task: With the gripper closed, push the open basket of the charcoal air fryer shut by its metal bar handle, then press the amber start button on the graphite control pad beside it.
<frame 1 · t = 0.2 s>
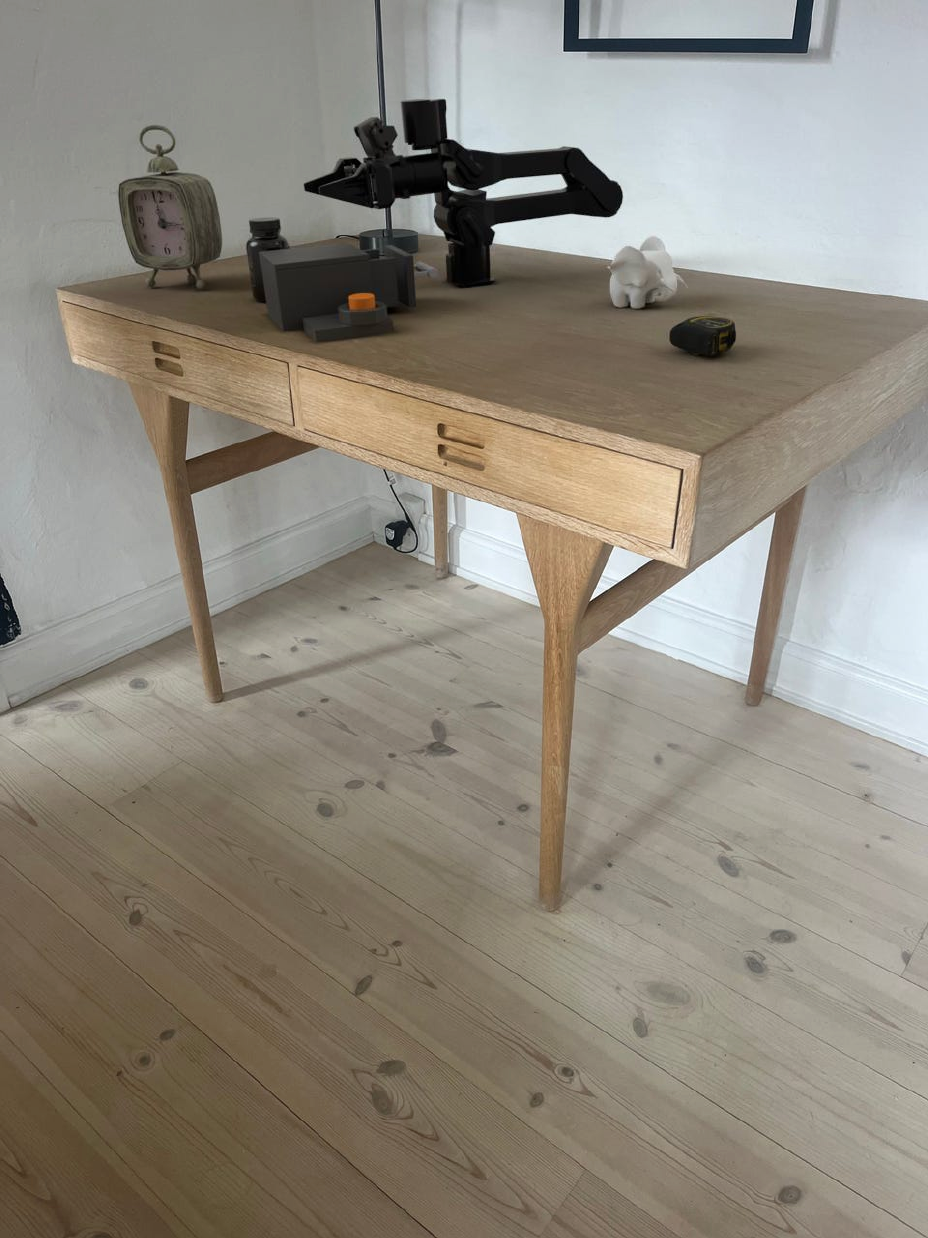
hand: (311, 188, 138), 16 cm above the table, tool horizontal, fingers open, 9 cm apart
basket: (377, 278, 137), point 5 cm above the table, slide at 5.5 cm
air fryer: (320, 317, 137), on the table
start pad: (348, 331, 129), on the table
supplement bottle: (275, 299, 150), on the table
tabletop clock: (186, 286, 161), on the table
start button: (361, 302, 126), point 4 cm above the table, slide at 0.1 cm
tape measure: (702, 355, 113), on the table
elephant figurine: (642, 306, 136), on the table
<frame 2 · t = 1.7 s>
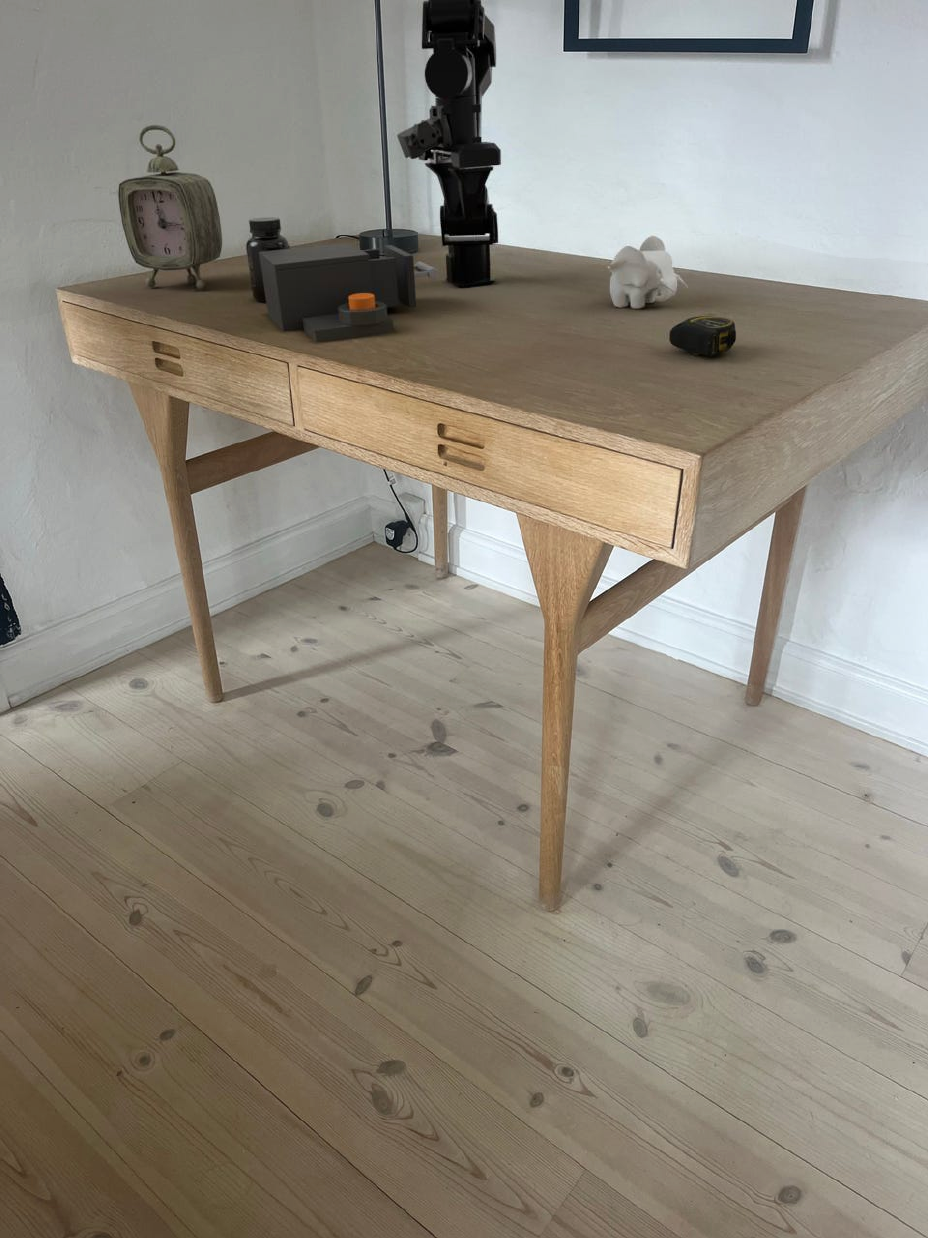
hand: (459, 216, 137), 12 cm above the table, tool pointing down, fingers open, 6 cm apart
nothing on the table moved.
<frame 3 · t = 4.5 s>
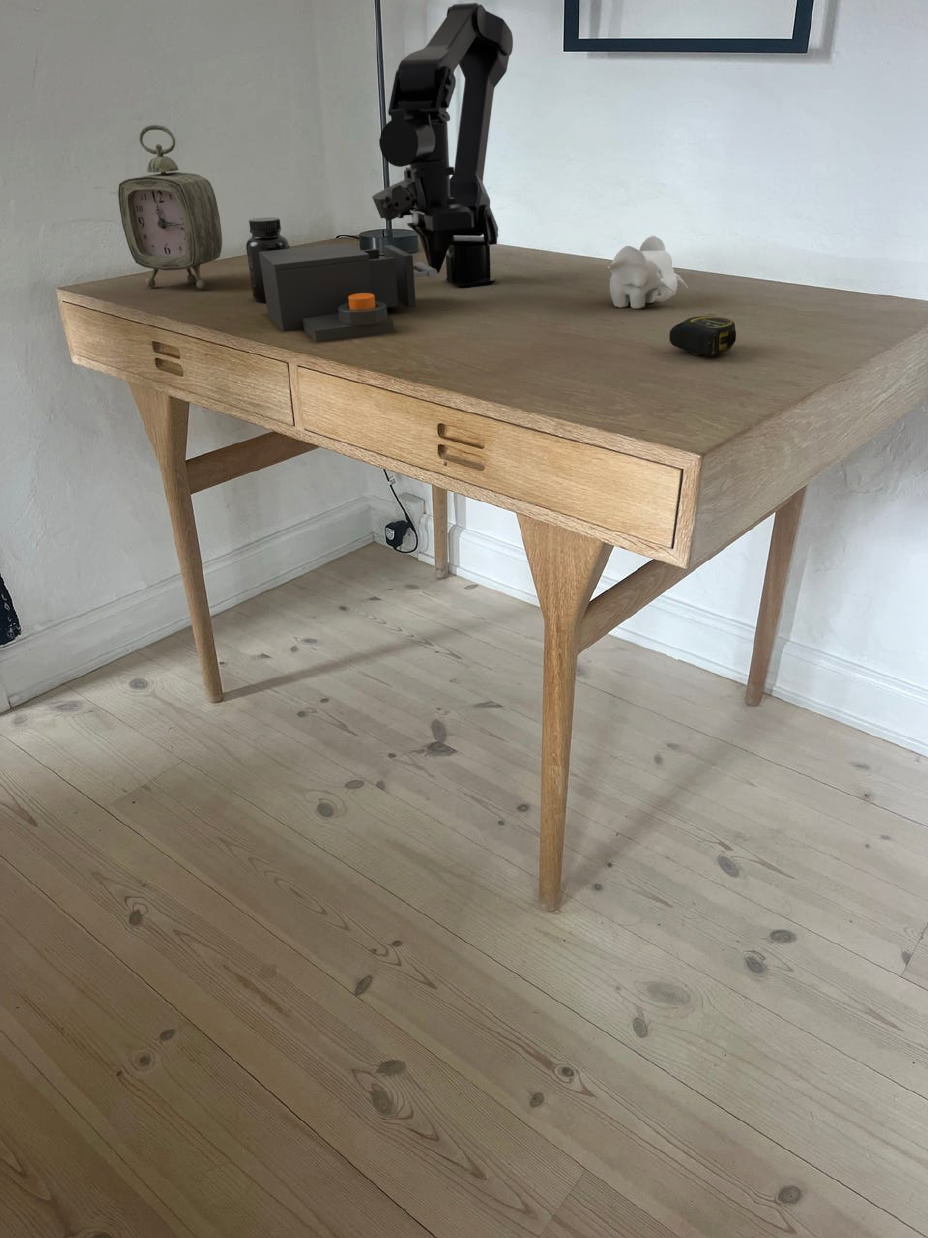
hand: (435, 273, 140), 4 cm above the table, tool pointing down, fingers closed, pressing on basket
basket: (377, 278, 137), point 5 cm above the table, slide at 5.4 cm, touching gripper
everything else where it was.
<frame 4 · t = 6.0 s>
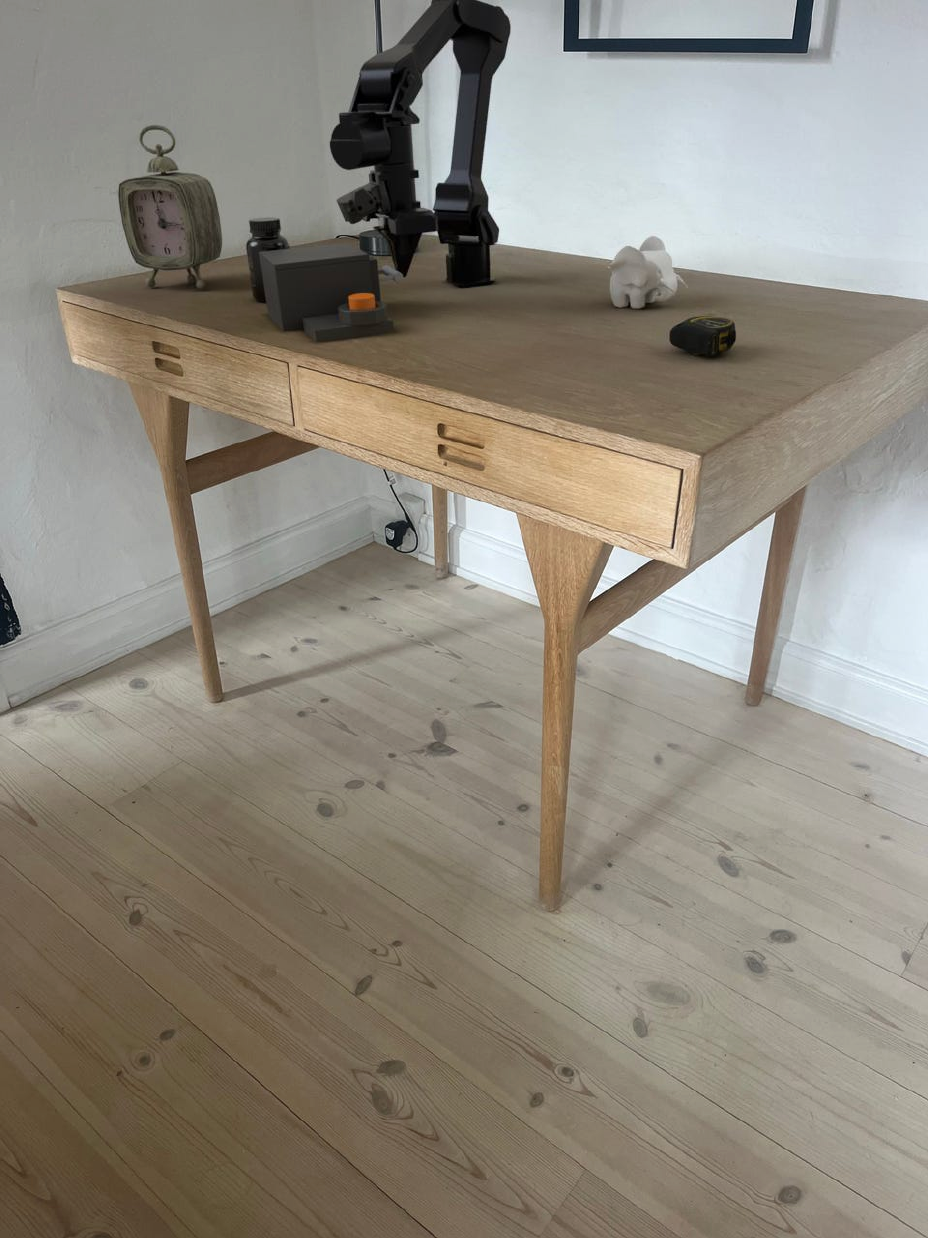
hand: (402, 277, 139), 4 cm above the table, tool pointing down, fingers closed, pressing on basket
basket: (343, 282, 136), point 5 cm above the table, slide at 0.1 cm, touching gripper
everything else where it was.
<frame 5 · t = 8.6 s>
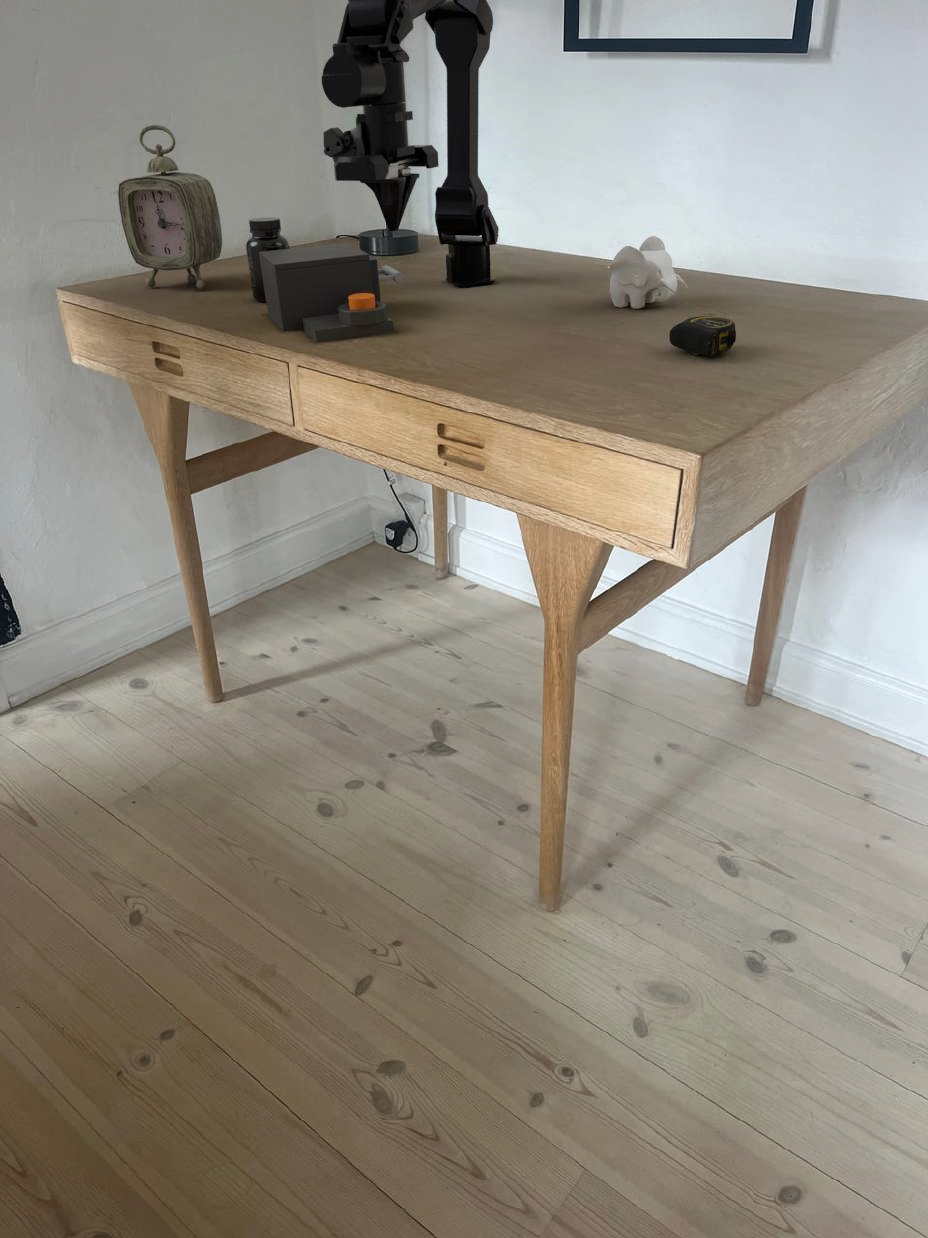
hand: (393, 230, 129), 12 cm above the table, tool pointing down, fingers closed
basket: (342, 282, 136), point 5 cm above the table, slide at 0.1 cm
everything else where it was.
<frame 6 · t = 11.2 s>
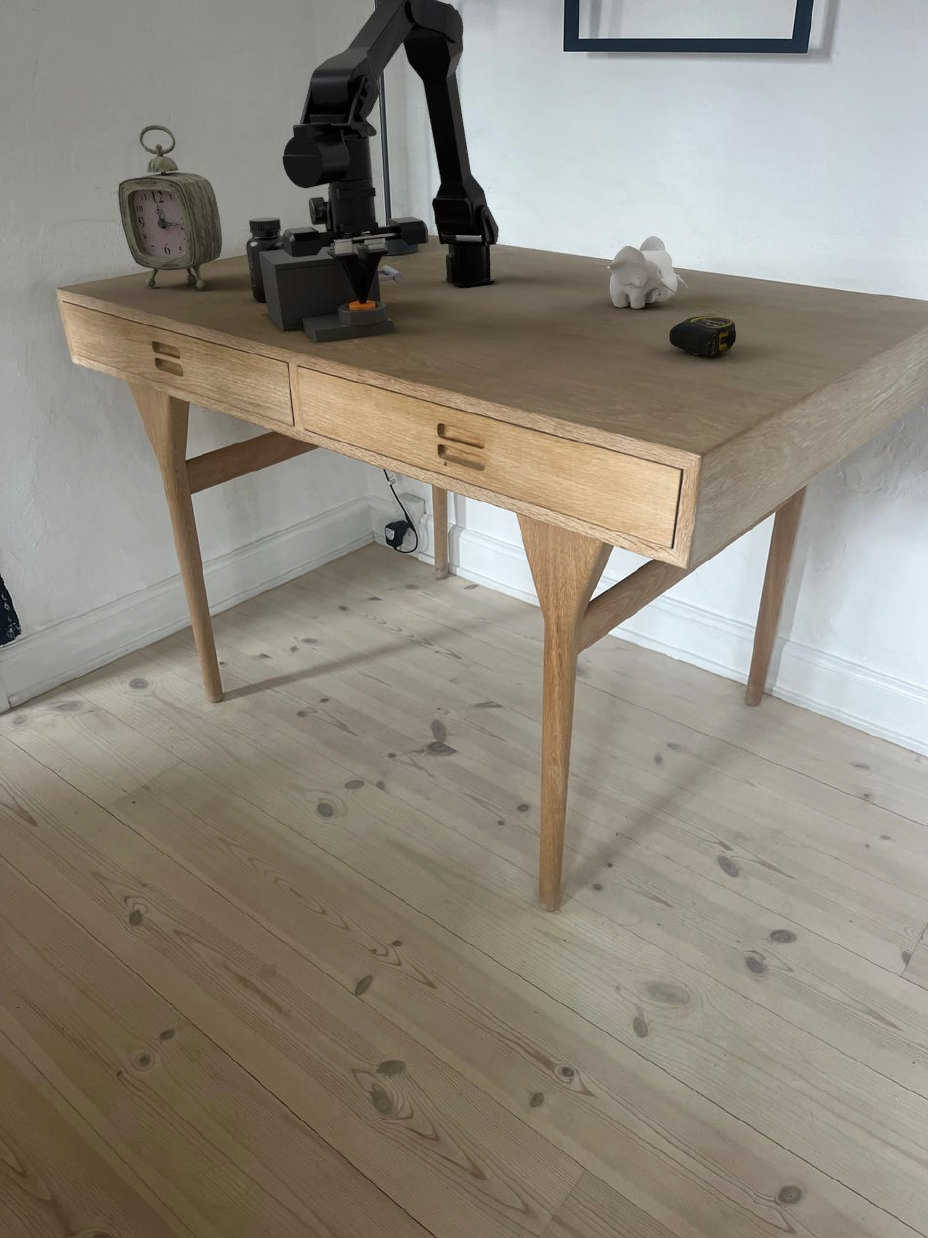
hand: (362, 303, 127), 4 cm above the table, tool pointing down, fingers closed, pressing on start button
start button: (362, 309, 127), point 3 cm above the table, slide at -0.9 cm, touching gripper
everything else where it was.
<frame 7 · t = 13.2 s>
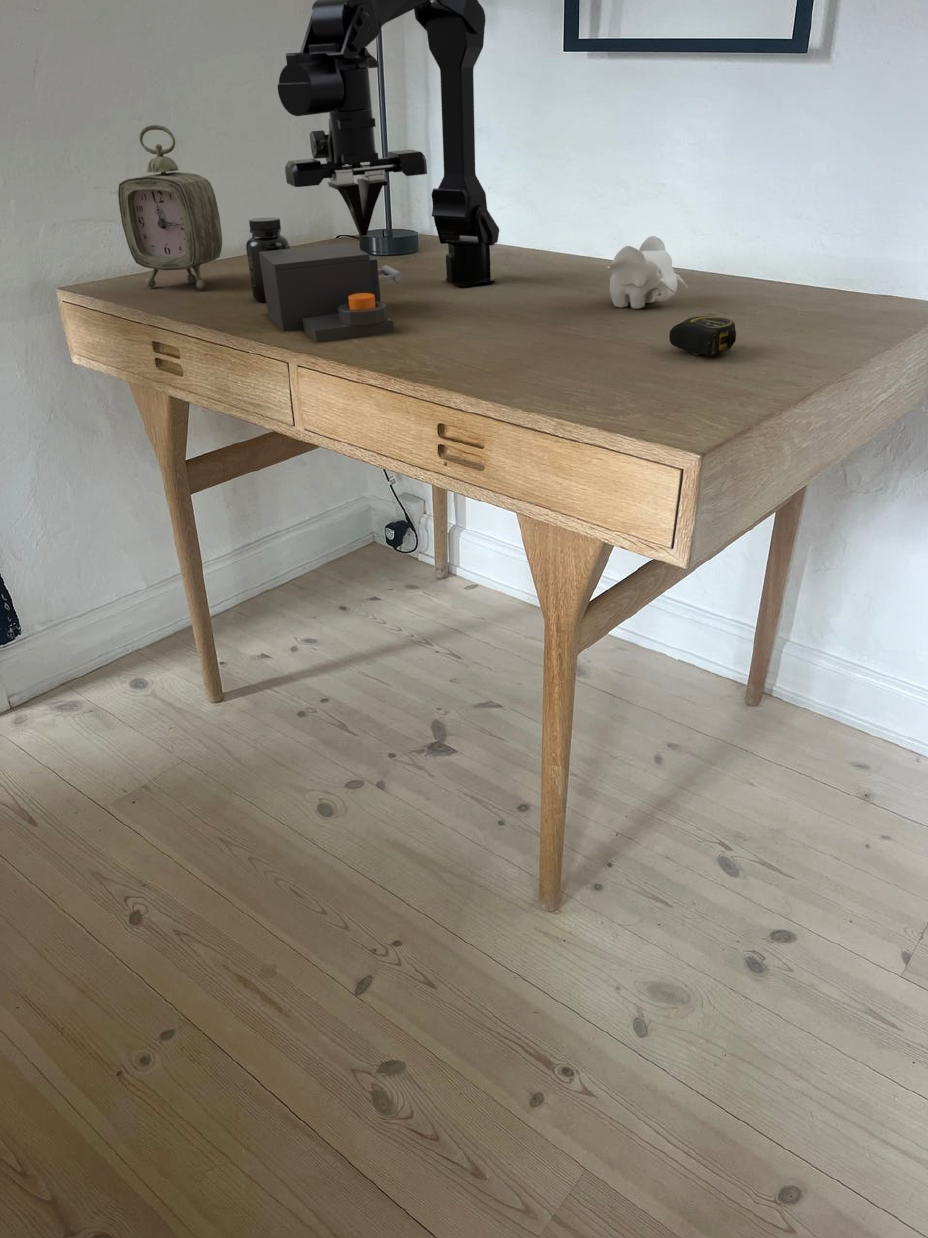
hand: (363, 235, 130), 11 cm above the table, tool pointing down, fingers closed
start button: (361, 302, 126), point 4 cm above the table, slide at 0.1 cm
everything else where it was.
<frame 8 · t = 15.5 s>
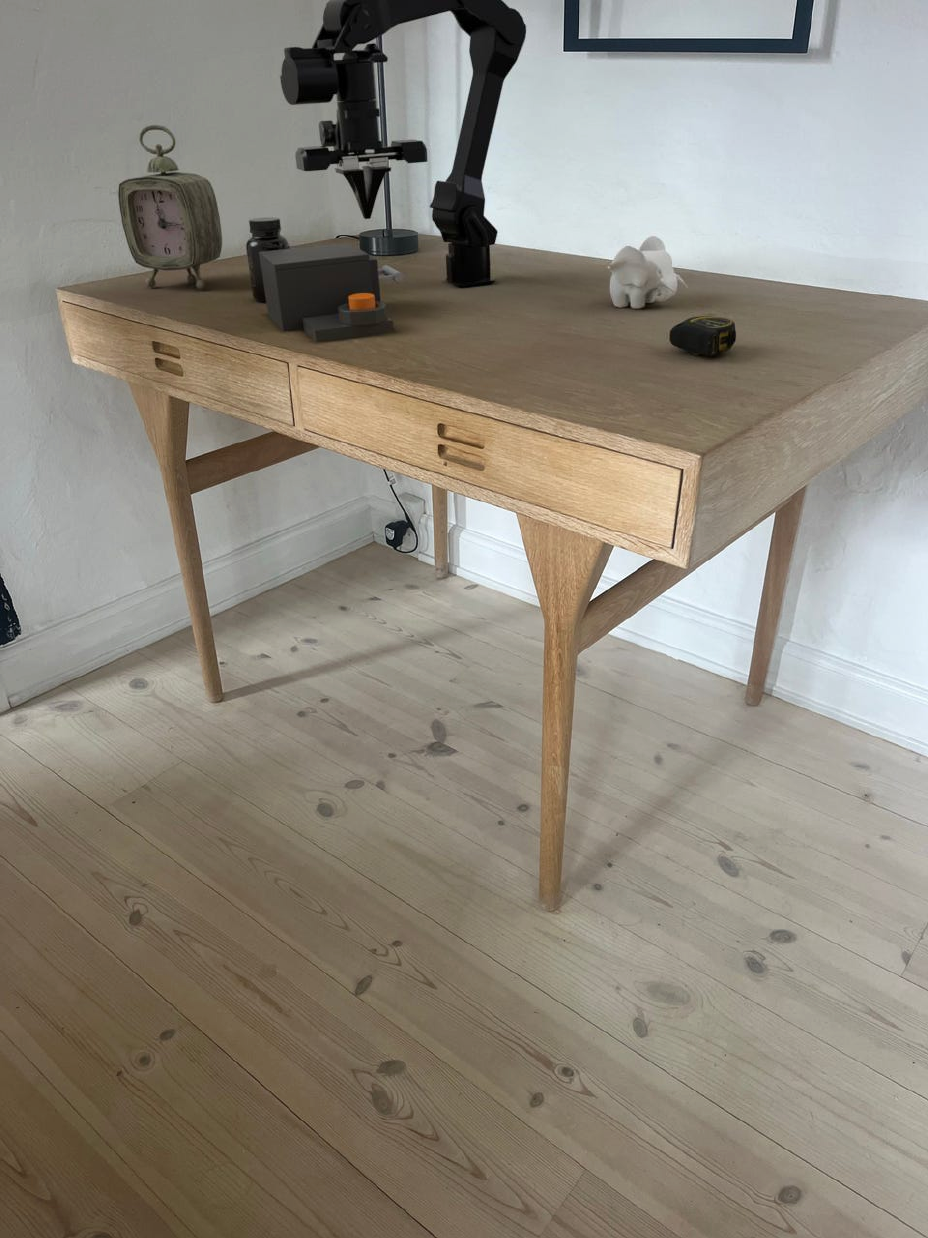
hand: (367, 218, 139), 12 cm above the table, tool pointing down, fingers closed
nothing on the table moved.
at the end: basket slide at 0.1 cm; start button pushed in 1.1 cm at the most during the clip, back to where it started at the end; start button slide at 0.1 cm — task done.
